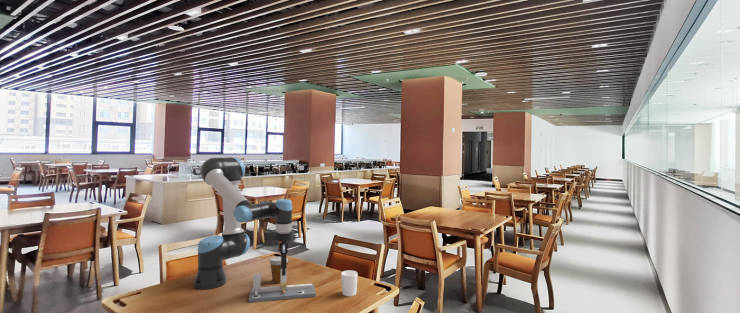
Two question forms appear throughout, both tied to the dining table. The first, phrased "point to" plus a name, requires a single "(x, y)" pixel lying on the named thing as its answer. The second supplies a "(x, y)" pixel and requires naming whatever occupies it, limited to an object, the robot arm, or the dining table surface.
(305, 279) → the dining table surface
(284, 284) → the gold pointer slider
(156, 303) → the dining table surface
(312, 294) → the gauge plate
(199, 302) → the dining table surface
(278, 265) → the disposable coffee cup
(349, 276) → the white cup
